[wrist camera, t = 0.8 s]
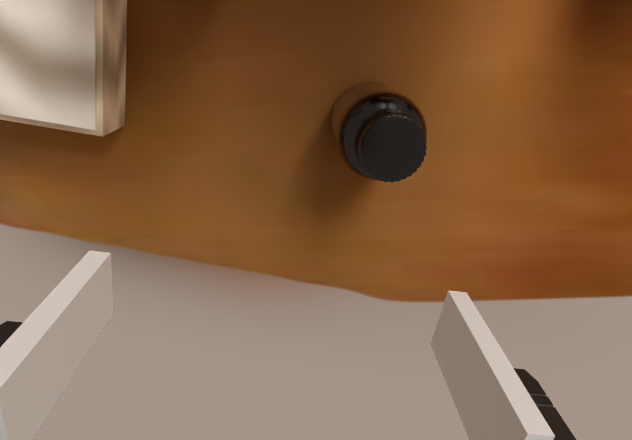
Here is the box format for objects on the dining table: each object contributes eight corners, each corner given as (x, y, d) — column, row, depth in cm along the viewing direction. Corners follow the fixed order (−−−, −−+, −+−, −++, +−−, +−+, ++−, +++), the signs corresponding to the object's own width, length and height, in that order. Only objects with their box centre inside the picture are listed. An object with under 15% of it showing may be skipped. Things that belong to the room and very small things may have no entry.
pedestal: (-15, -36, 35) (-65, -47, 30) (127, -7, 36) (101, -13, 31) (-2, 103, 39) (-44, 112, 34) (125, 125, 40) (101, 137, 35)
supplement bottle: (417, 111, 41) (462, 138, 30) (371, 168, 43) (398, 213, 32) (360, 65, 39) (387, 77, 28) (315, 127, 41) (323, 160, 30)
